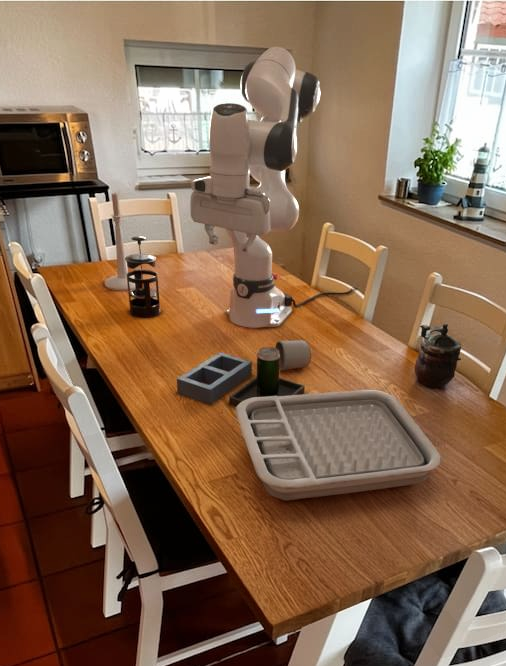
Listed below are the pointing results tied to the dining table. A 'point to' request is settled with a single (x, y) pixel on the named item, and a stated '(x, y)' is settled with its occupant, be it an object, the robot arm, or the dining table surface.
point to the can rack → (214, 377)
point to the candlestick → (119, 253)
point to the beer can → (268, 372)
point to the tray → (250, 390)
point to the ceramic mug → (293, 354)
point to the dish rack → (334, 443)
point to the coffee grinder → (437, 357)
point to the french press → (142, 285)
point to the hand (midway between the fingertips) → (230, 247)
